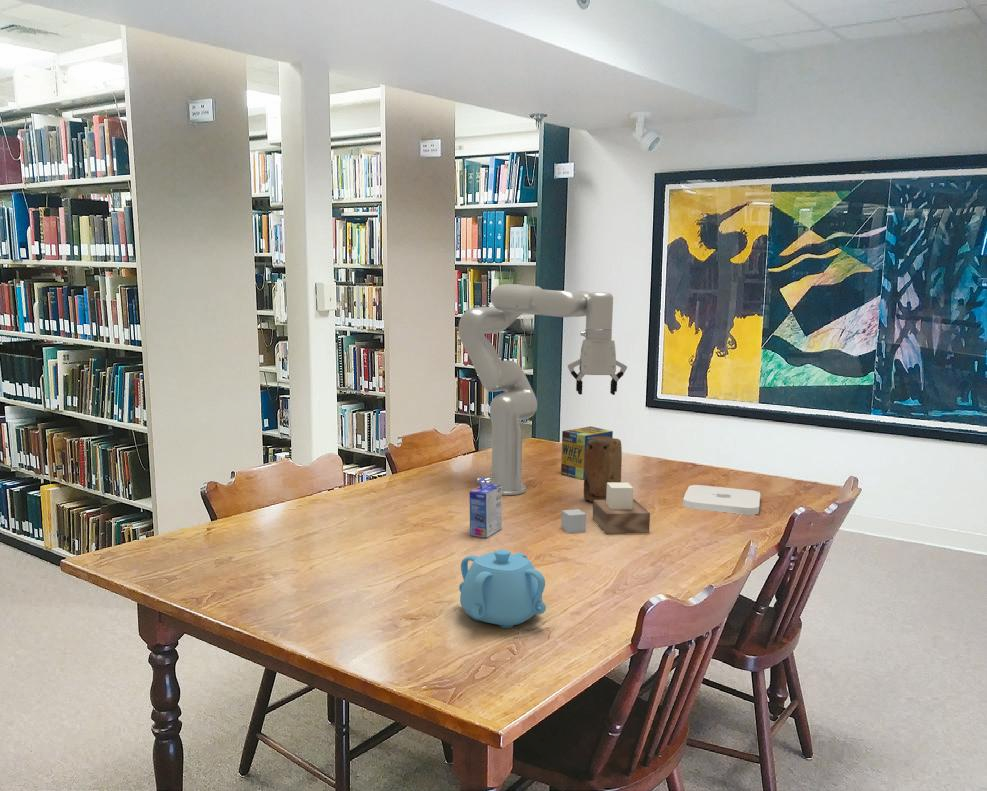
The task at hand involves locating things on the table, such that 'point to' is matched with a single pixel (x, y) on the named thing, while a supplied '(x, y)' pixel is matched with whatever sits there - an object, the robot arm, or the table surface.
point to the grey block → (573, 521)
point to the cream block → (619, 495)
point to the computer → (722, 499)
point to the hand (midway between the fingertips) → (596, 394)
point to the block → (601, 466)
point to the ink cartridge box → (485, 509)
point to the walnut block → (621, 518)
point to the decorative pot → (501, 588)
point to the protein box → (578, 449)
